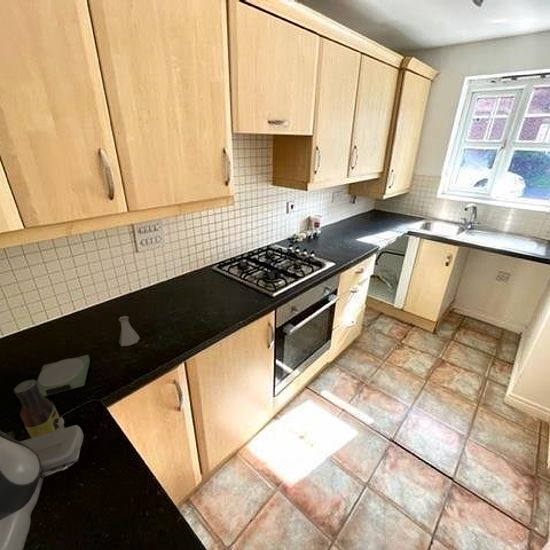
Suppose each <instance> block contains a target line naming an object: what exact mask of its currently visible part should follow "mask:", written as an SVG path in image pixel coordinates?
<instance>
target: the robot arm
mask: <svg viewBox="0 0 550 550" xmlns="http://www.w3.org/2000/svg"><path fill="white" fill-rule="evenodd" d="M64 424H65V420H64V418H63V417H62V416H61V417H60V418H57V419H55V420H54V422H53V426H54V427H55V430H56V431H54V432H51V433H47V434H44V435H41V436H37V437H34V438H31V437H30V438H27V439H24V440H21V441H19V440H17V439H15V437H16V435H15V433H14V431H9V432H3V431H2V430H1V429H0V550H24V547H25V544H26V541H27V537H28V534H29V532H30V527H31V522H32V521H31V514H32V512H33V510H34V509H35V507H36V505H37V502H38V501H39V500H38V498H39V496H40V492H41V489H42V485H43V482H44V478H46V477H49V476H52V475H54V474H56V473H59V472H65V471H66V470H68V469H69V468H70V467H71V466H73V465H74V464H76V463H77V462H78V461H79V459H80V453H81V447H82V445H83V441H84V433H83V430H82V428H81V427H80V426H79V425H77V424H74V425H71V426H68V427H65V425H64ZM63 425H64V426H63Z"/></svg>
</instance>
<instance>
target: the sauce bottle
mask: <svg viewBox="0 0 550 550" xmlns="http://www.w3.org/2000/svg"><path fill="white" fill-rule="evenodd" d="M13 392H14V394H15V396H16V397H17V398H18V399H19V401H20V404H21V406H22V407H21V409H20V414H19V415H20V416H19V417H20V419H21V420H22V422H23V424H24V427H25V429H26V431H27V434H28V435H29V438H30V439H31V438H34V437H37V436H41V435H44V434H47V433H51V432H54V431H56V430H55V427H54V426H53V422H54V420H55V419H57V418H61V417H60V414H59V412H58V410H57V408H56V406H55V403H54V402H53V401H51V400H50V399H48V398H47V397H46V396H43V395H42V394H41V393H40V391H39V388H38V384H37V380H35V379H28V380H24V381H22V382H20V383H19V384H17V385H16V386H15V387H14V389H13ZM63 426H64V427H65V425H63Z"/></svg>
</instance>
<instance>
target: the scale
mask: <svg viewBox="0 0 550 550" xmlns="http://www.w3.org/2000/svg"><path fill="white" fill-rule="evenodd" d="M90 362H91V359H90V356H89V354H86V355H80V356H77V357H73V358H66V359H65V358H64V359H61V360H59V361H55V362H51V363H48V364H47V363H46V364H43V365H42V368H41V371H40V372H39V375H38V377H37V380H36V382H37V384H38V388H39V391H40V393H41V394H42V395H43V396H44V397H48V396H51V395H55V394H58V393H63V392H65V391H69V390H73V389H78V388H81V387H84V386H85V385H86V380H87V375H88V371H89V367H90Z"/></svg>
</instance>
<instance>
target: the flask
mask: <svg viewBox="0 0 550 550" xmlns="http://www.w3.org/2000/svg"><path fill="white" fill-rule="evenodd" d="M118 321H119V322H120V333H119V334H120V335H119V340H118V343H119V345H120V346H121V347H128V346H132V345H134V344H137V343H138V342H139V341H140V336H139V334H138V333H137V332H136V331H135V329H134V328H133V327H132V326H131V324H130V322H129V316H128V315H123V316H120V317H119V318H118Z"/></svg>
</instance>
